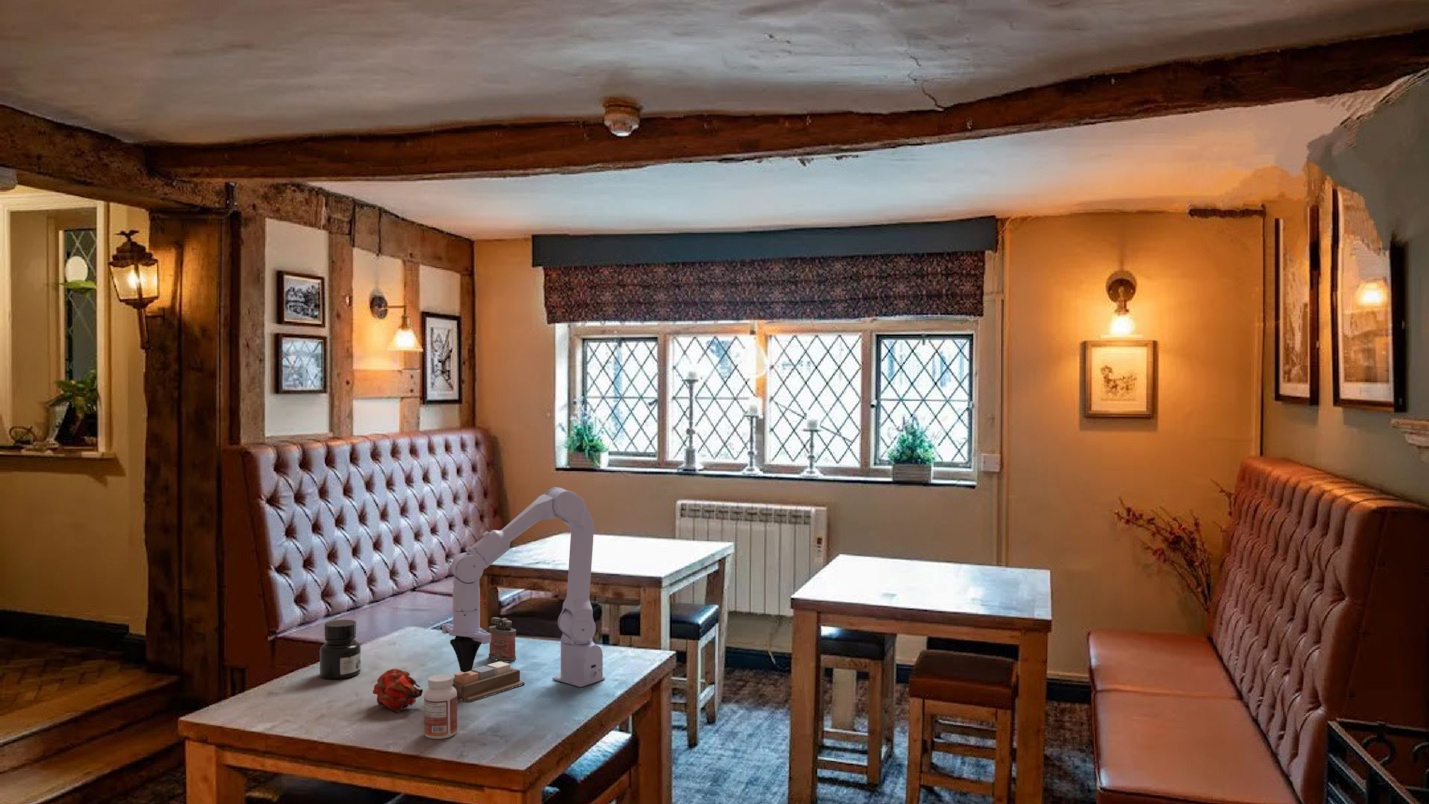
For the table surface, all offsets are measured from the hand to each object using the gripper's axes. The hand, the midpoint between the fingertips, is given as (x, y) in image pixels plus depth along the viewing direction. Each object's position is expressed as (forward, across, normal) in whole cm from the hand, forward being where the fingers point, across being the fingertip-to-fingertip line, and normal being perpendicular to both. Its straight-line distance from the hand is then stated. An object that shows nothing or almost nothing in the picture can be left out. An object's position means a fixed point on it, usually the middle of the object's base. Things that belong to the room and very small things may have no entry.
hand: (466, 670), depth 214 cm
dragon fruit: (+5, -4, -14) cm, 16 cm away
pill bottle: (+5, +16, -18) cm, 25 cm away
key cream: (+3, 0, +9) cm, 9 cm away
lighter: (+5, -15, +22) cm, 28 cm away
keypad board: (+5, 0, +4) cm, 7 cm away
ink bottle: (+5, -34, -10) cm, 36 cm away
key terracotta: (+3, 0, 0) cm, 3 cm away
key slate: (+3, 0, +4) cm, 5 cm away
